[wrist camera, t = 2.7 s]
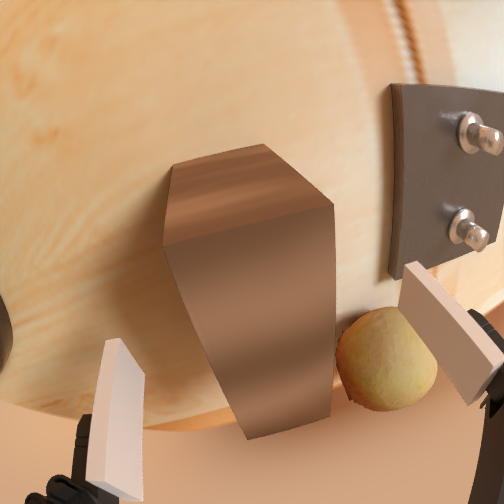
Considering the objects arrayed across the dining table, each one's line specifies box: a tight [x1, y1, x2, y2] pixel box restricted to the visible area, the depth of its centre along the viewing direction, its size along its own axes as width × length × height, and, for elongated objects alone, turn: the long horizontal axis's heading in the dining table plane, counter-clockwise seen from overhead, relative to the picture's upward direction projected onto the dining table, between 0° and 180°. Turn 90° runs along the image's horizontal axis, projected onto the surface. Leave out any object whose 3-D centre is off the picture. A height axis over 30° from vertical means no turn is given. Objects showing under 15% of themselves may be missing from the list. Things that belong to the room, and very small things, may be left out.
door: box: [162, 144, 336, 440], centre depth 14 cm, size 12×4×8 cm, turn 10°
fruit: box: [335, 307, 437, 411], centre depth 20 cm, size 8×8×8 cm
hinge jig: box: [388, 83, 504, 281], centre depth 16 cm, size 12×13×4 cm
